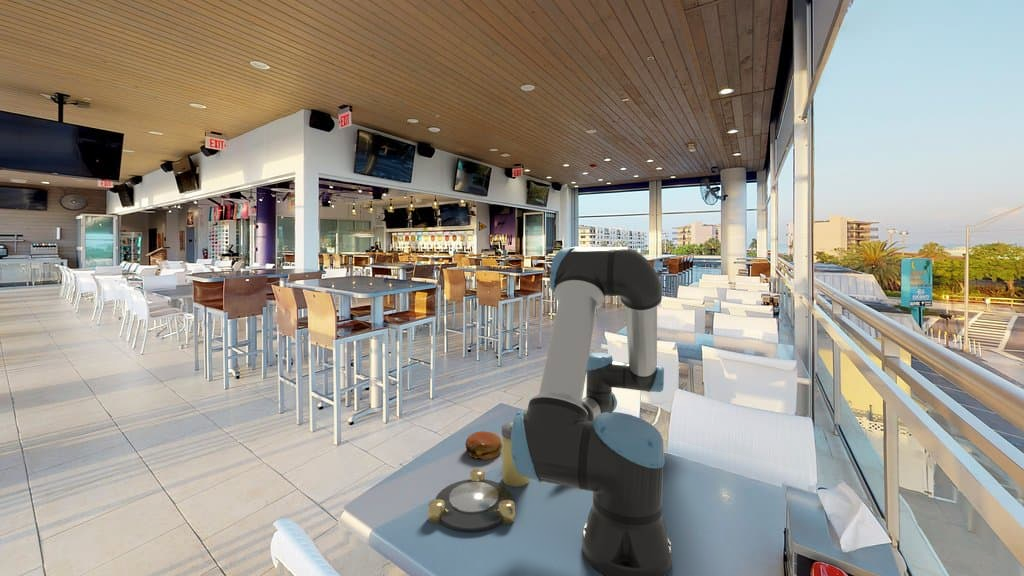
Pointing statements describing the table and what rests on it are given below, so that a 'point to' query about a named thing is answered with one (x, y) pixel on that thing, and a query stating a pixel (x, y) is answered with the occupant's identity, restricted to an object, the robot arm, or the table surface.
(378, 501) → the table surface
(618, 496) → the robot arm
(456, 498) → the tribrach
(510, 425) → the yellow battery cell
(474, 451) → the burger
